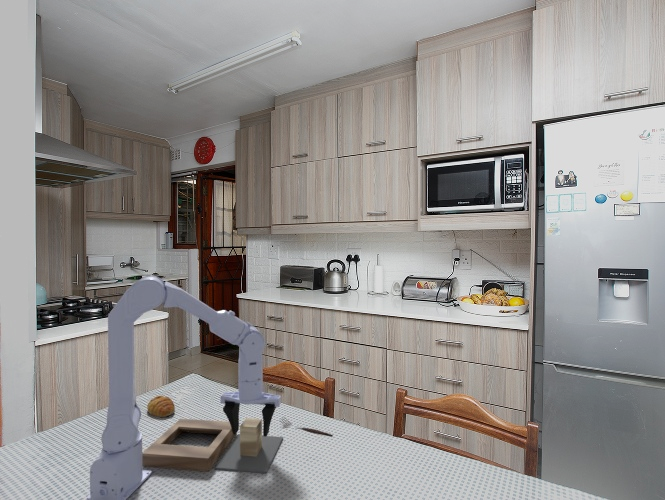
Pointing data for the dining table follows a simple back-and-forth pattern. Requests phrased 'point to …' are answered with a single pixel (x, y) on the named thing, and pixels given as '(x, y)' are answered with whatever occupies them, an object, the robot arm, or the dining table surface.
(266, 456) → the mat
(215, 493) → the dining table surface
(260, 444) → the block
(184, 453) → the wooden square frame
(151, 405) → the pastry
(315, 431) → the fork
